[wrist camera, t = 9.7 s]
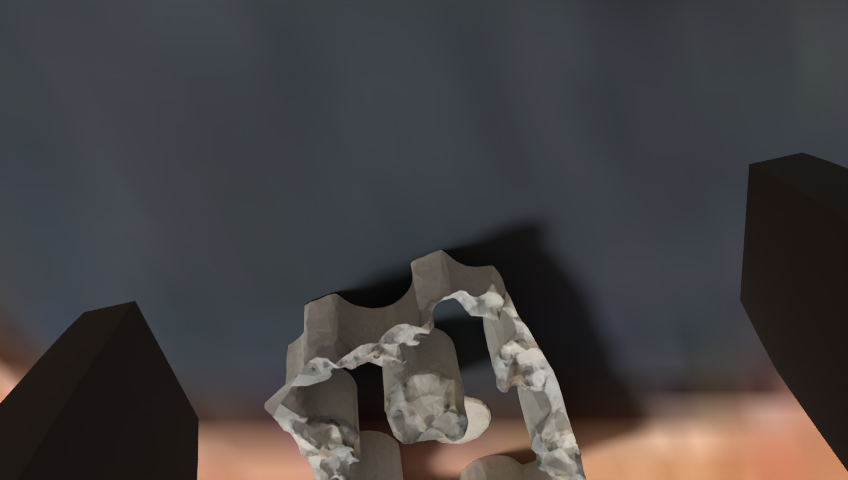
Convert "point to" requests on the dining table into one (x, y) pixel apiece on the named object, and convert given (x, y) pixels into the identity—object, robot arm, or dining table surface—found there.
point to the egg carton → (419, 381)
